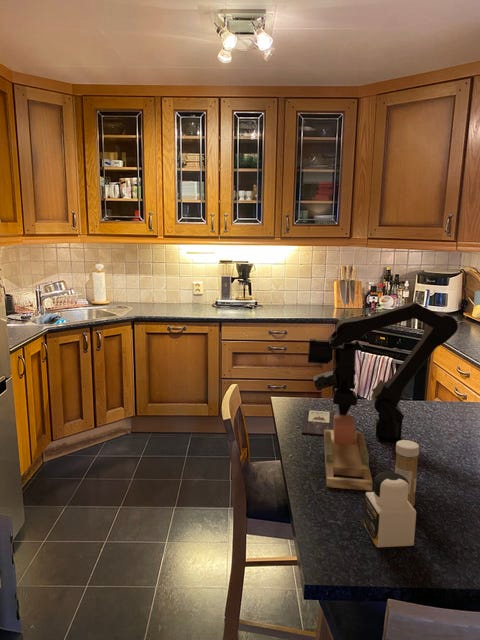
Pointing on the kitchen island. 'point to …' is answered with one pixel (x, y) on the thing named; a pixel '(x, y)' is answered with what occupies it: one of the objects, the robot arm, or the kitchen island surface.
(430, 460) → the kitchen island surface
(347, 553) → the kitchen island surface
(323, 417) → the chocolate bar
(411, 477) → the sprinkles bottle
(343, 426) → the block
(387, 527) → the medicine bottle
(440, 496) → the kitchen island surface
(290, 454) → the kitchen island surface
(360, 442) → the beige tray
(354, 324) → the robot arm
